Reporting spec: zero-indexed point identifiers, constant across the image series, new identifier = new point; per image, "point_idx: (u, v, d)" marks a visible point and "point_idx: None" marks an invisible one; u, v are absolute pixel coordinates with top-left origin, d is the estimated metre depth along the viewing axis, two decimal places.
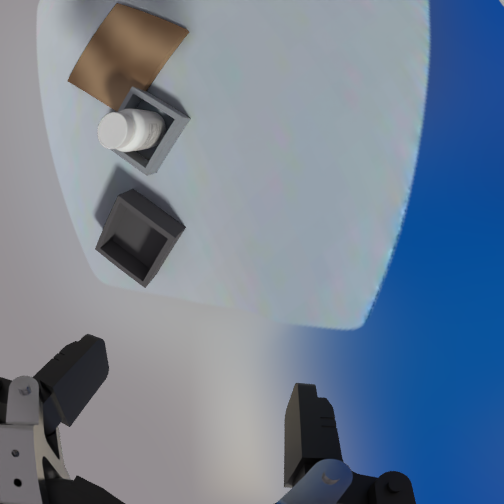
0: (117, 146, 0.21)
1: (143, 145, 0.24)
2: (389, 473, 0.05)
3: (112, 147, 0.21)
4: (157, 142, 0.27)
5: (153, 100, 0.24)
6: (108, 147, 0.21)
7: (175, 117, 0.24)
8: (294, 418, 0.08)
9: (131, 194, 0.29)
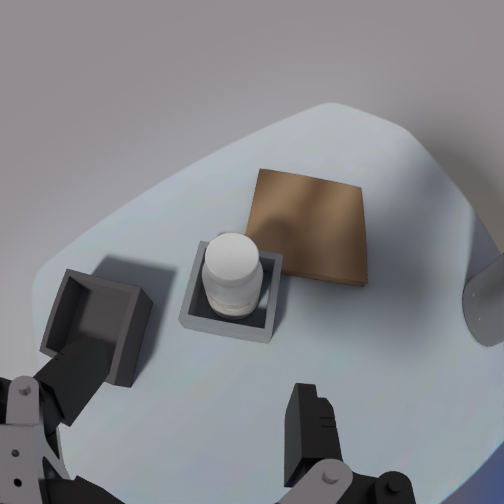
0: (212, 271, 0.17)
1: (218, 303, 0.20)
2: (389, 473, 0.05)
3: (209, 264, 0.17)
4: (223, 316, 0.22)
5: (276, 290, 0.22)
6: (207, 258, 0.17)
7: (267, 328, 0.21)
8: (294, 418, 0.08)
9: (146, 303, 0.22)
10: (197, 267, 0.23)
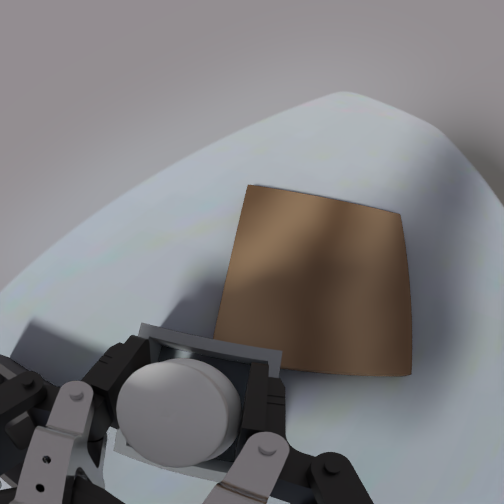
0: (132, 446, 0.06)
1: None
2: (323, 455, 0.06)
3: (124, 431, 0.06)
4: None
5: None
6: (120, 417, 0.07)
7: None
8: (246, 394, 0.09)
9: None
10: None
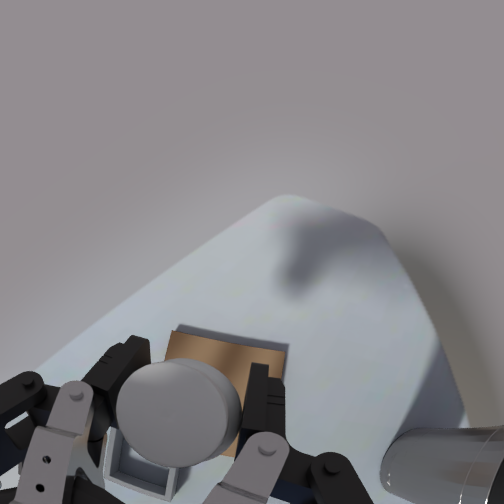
0: (132, 446, 0.06)
1: None
2: (323, 455, 0.06)
3: (124, 432, 0.06)
4: None
5: (173, 471, 0.19)
6: (119, 417, 0.07)
7: (166, 496, 0.18)
8: (246, 394, 0.09)
9: None
10: (112, 443, 0.20)
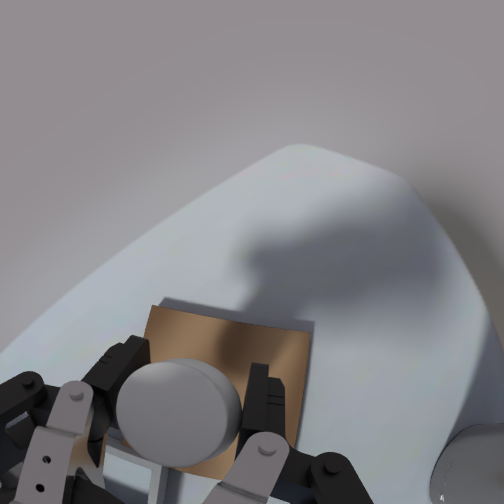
0: (132, 446, 0.06)
1: None
2: (323, 455, 0.06)
3: (124, 431, 0.06)
4: None
5: (154, 501, 0.12)
6: (119, 417, 0.07)
7: None
8: (246, 394, 0.09)
9: None
10: None
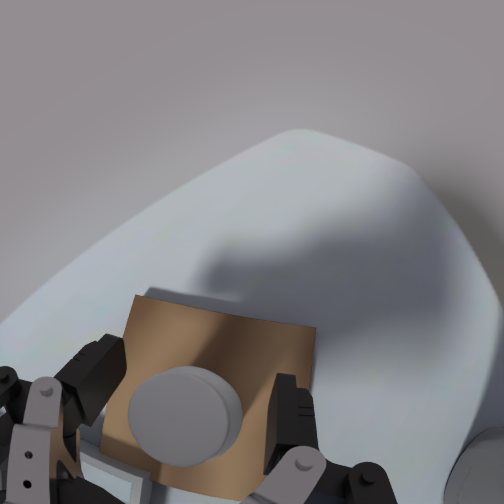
0: (143, 448, 0.07)
1: None
2: (362, 464, 0.06)
3: (135, 435, 0.07)
4: None
5: None
6: (131, 422, 0.07)
7: None
8: (274, 407, 0.09)
9: None
10: None
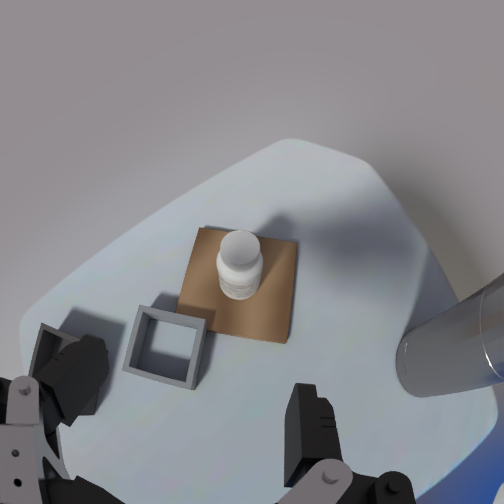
0: (226, 258, 0.23)
1: (229, 284, 0.26)
2: (389, 473, 0.05)
3: (223, 253, 0.23)
4: (232, 296, 0.29)
5: (197, 351, 0.25)
6: (221, 249, 0.24)
7: (187, 382, 0.24)
8: (294, 418, 0.08)
9: None
10: (136, 328, 0.26)
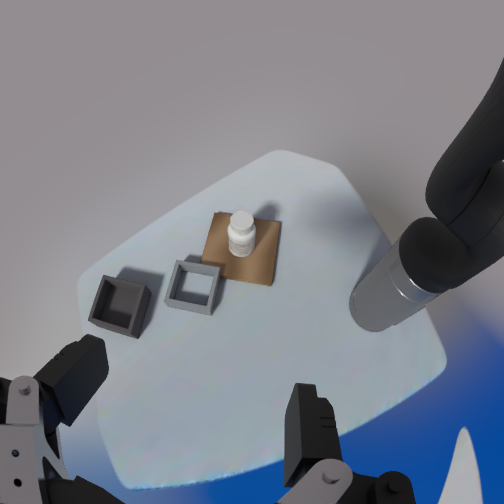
0: (234, 226, 0.40)
1: (235, 244, 0.43)
2: (389, 473, 0.05)
3: (232, 223, 0.40)
4: (236, 254, 0.46)
5: (214, 286, 0.42)
6: (231, 221, 0.40)
7: (208, 306, 0.40)
8: (294, 418, 0.08)
9: (147, 293, 0.42)
10: (174, 274, 0.43)
